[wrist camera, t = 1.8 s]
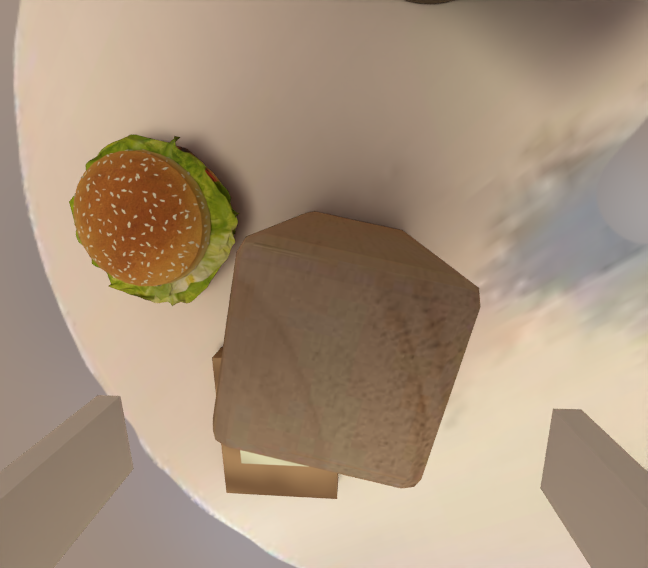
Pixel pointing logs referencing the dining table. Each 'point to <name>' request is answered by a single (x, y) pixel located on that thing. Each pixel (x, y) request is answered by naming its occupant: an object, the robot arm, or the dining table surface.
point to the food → (154, 219)
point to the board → (272, 470)
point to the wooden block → (341, 348)
